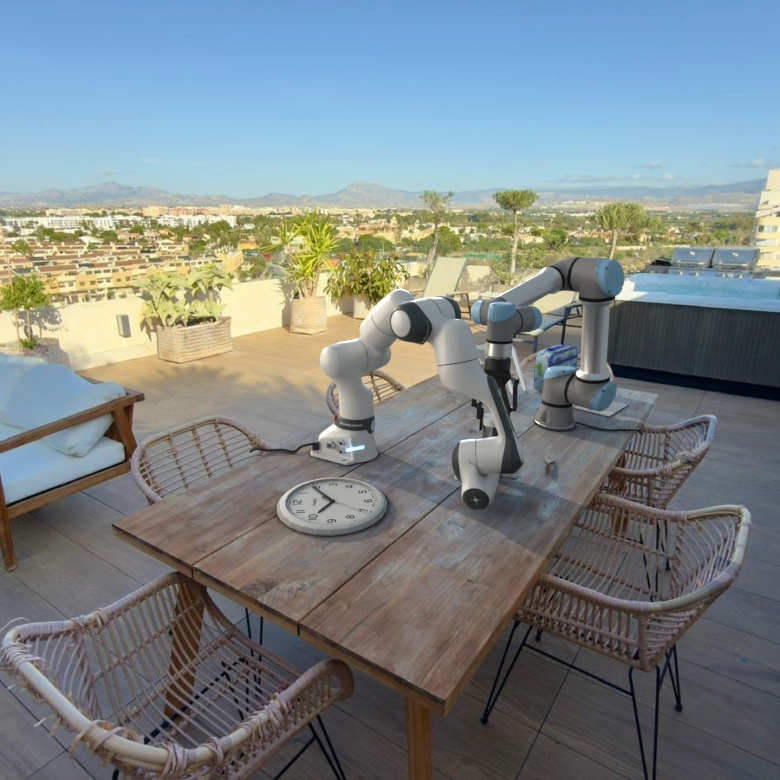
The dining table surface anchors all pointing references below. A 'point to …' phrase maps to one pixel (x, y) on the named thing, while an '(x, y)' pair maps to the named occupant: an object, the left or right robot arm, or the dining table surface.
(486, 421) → the lid
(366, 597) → the dining table surface
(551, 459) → the fork
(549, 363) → the lunch box
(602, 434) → the dining table surface
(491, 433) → the jar
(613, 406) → the invitation card
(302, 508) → the wall clock
